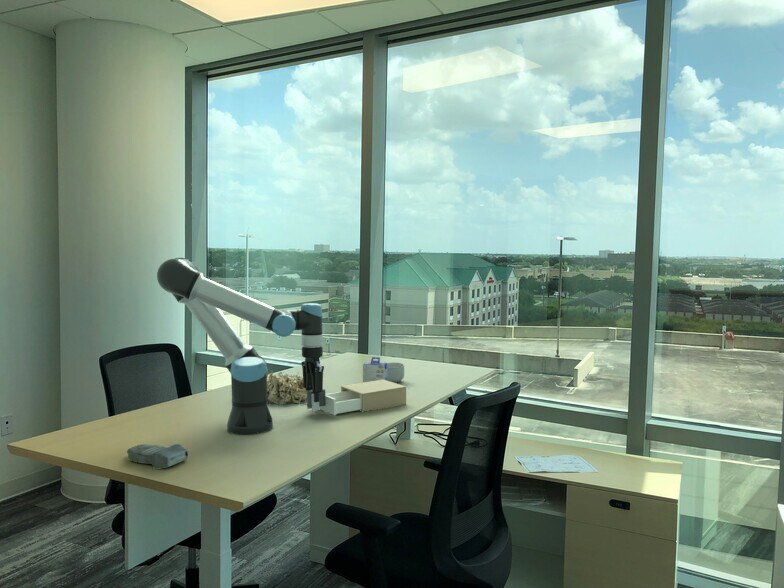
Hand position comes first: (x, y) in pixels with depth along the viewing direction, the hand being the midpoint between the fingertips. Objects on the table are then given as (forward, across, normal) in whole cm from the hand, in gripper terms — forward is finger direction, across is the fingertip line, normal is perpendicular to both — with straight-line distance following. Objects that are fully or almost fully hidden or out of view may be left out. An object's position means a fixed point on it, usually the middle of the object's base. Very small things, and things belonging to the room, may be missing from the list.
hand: (313, 409), depth 223 cm
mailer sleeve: (+2, 0, -27) cm, 27 cm away
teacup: (+2, +30, -56) cm, 63 cm away
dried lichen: (+3, +32, -2) cm, 32 cm away
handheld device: (+3, -17, +60) cm, 63 cm away
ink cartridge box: (+2, +17, -39) cm, 42 cm away
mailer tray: (+1, 0, -11) cm, 12 cm away
